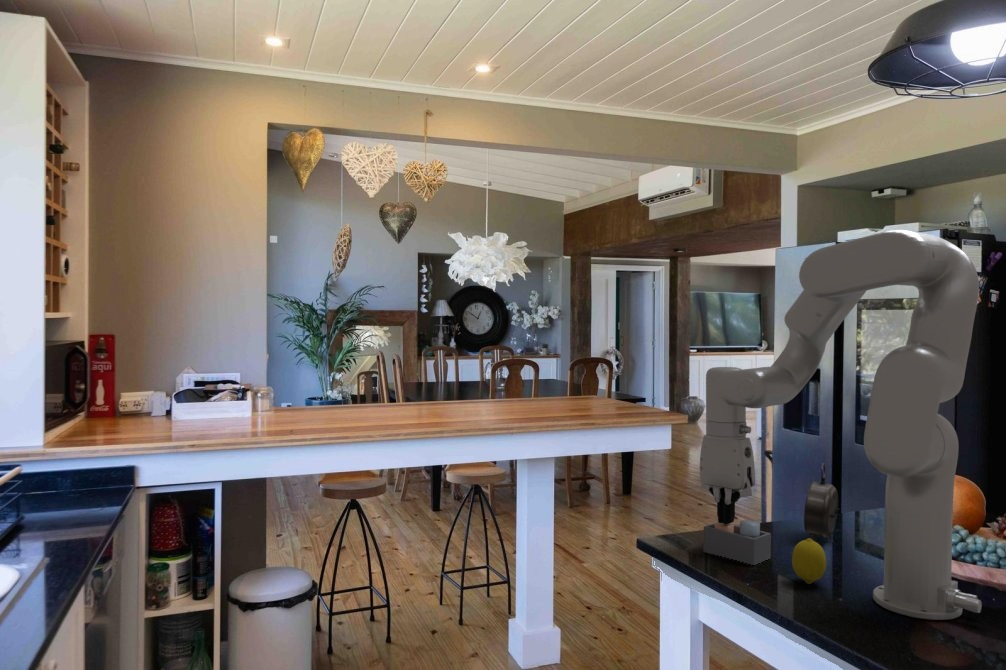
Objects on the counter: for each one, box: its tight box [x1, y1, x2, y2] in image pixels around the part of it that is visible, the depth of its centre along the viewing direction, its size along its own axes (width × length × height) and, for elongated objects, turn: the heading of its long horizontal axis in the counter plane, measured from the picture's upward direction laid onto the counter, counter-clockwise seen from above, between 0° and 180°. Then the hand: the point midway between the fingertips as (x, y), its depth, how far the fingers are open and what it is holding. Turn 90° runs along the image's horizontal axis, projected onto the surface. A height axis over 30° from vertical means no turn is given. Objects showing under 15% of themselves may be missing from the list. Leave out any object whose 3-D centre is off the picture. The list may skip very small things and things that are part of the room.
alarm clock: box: [803, 462, 840, 543], centre depth 152 cm, size 11×5×16 cm, turn 144°
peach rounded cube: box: [715, 521, 735, 533], centre depth 145 cm, size 4×4×4 cm
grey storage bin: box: [703, 522, 772, 566], centre depth 143 cm, size 11×6×5 cm, turn 41°
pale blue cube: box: [739, 519, 761, 538], centre depth 141 cm, size 4×4×4 cm
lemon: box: [791, 537, 827, 585], centre depth 128 cm, size 6×6×8 cm
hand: (726, 522), depth 145 cm, fingers closed
